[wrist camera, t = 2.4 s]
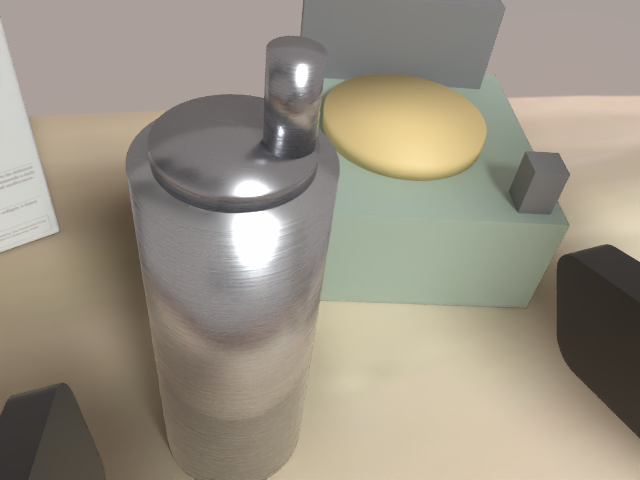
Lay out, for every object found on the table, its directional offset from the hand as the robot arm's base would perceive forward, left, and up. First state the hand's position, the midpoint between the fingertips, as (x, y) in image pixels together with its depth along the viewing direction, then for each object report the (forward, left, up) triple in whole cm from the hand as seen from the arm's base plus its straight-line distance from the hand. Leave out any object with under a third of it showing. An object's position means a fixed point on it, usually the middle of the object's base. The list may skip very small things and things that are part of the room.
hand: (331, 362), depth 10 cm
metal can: (-2, +8, -16) cm, 17 cm away
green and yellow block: (+6, +22, -16) cm, 27 cm away
